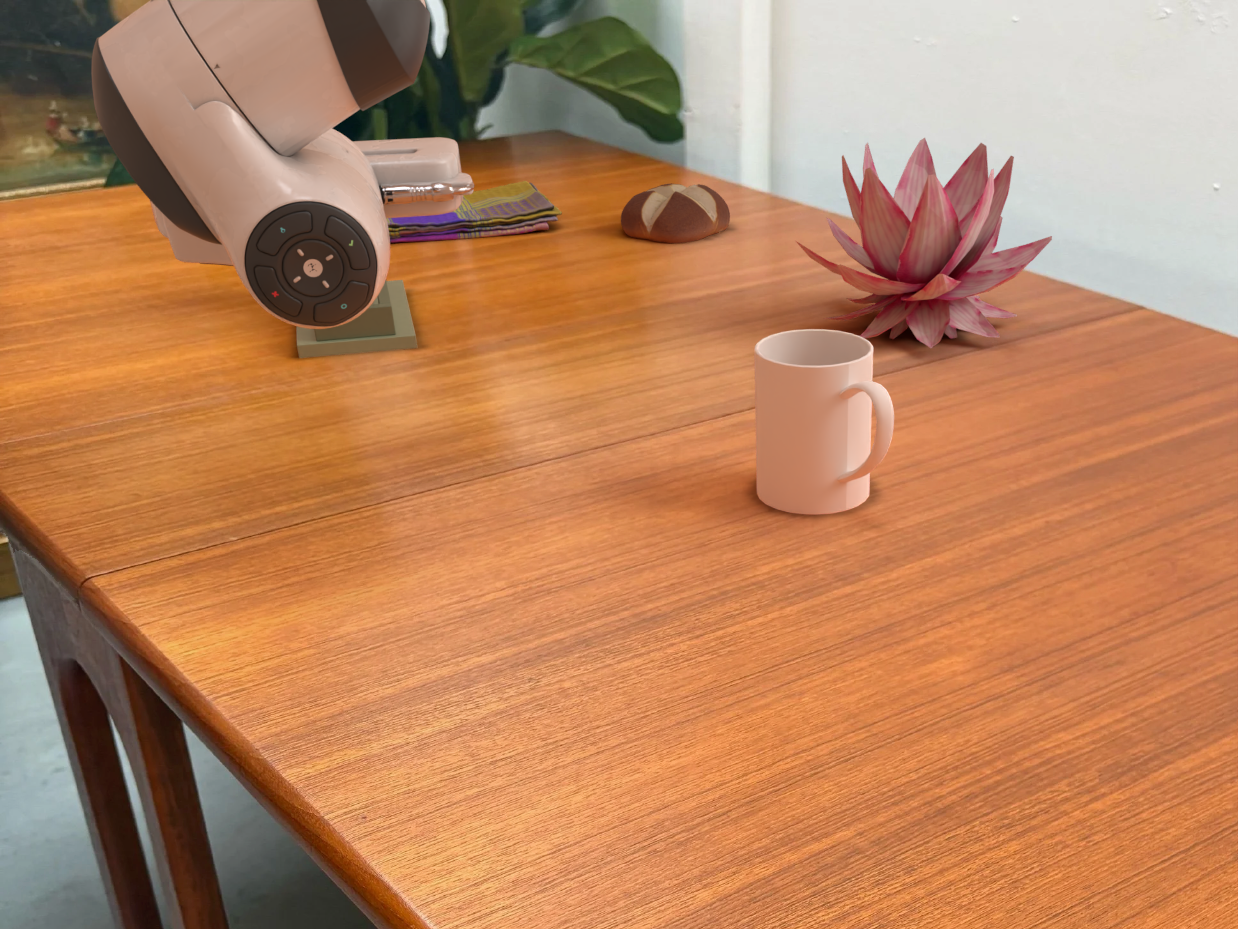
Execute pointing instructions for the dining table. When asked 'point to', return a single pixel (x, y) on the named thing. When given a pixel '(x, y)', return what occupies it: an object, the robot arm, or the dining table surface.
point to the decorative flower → (929, 247)
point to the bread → (675, 214)
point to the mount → (365, 328)
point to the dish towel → (481, 216)
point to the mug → (817, 420)
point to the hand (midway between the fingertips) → (306, 156)
